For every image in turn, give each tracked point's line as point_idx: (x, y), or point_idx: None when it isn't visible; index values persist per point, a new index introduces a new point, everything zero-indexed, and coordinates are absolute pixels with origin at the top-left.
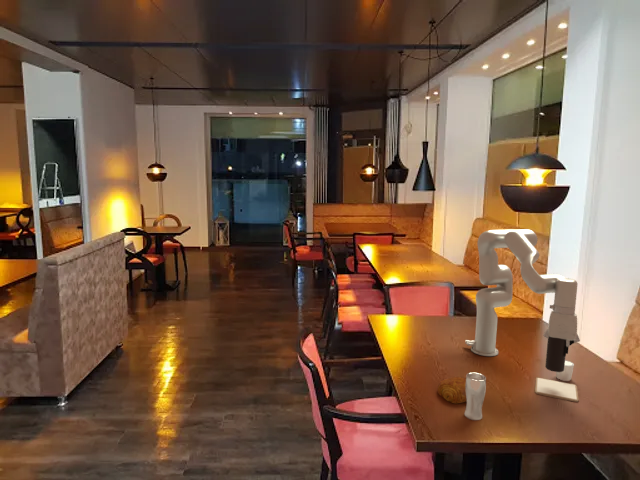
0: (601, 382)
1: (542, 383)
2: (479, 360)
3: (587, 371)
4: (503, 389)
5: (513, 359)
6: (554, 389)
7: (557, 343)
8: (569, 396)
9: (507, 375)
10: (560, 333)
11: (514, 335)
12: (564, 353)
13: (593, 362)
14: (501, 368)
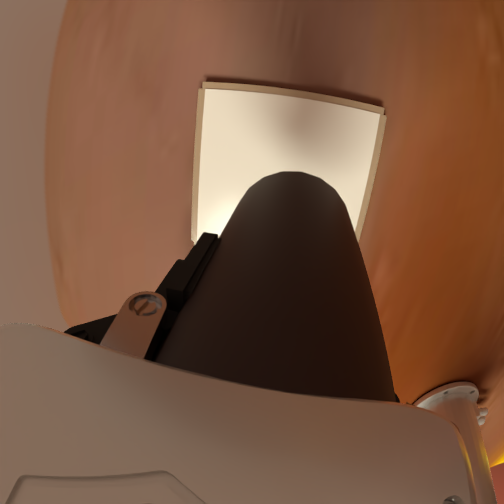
0: (120, 297)
1: None
2: (487, 350)
3: None
4: (497, 126)
5: None
6: (292, 162)
7: (292, 303)
8: (233, 107)
9: (452, 266)
10: (209, 496)
11: None
12: (210, 246)
13: None
14: (449, 319)
